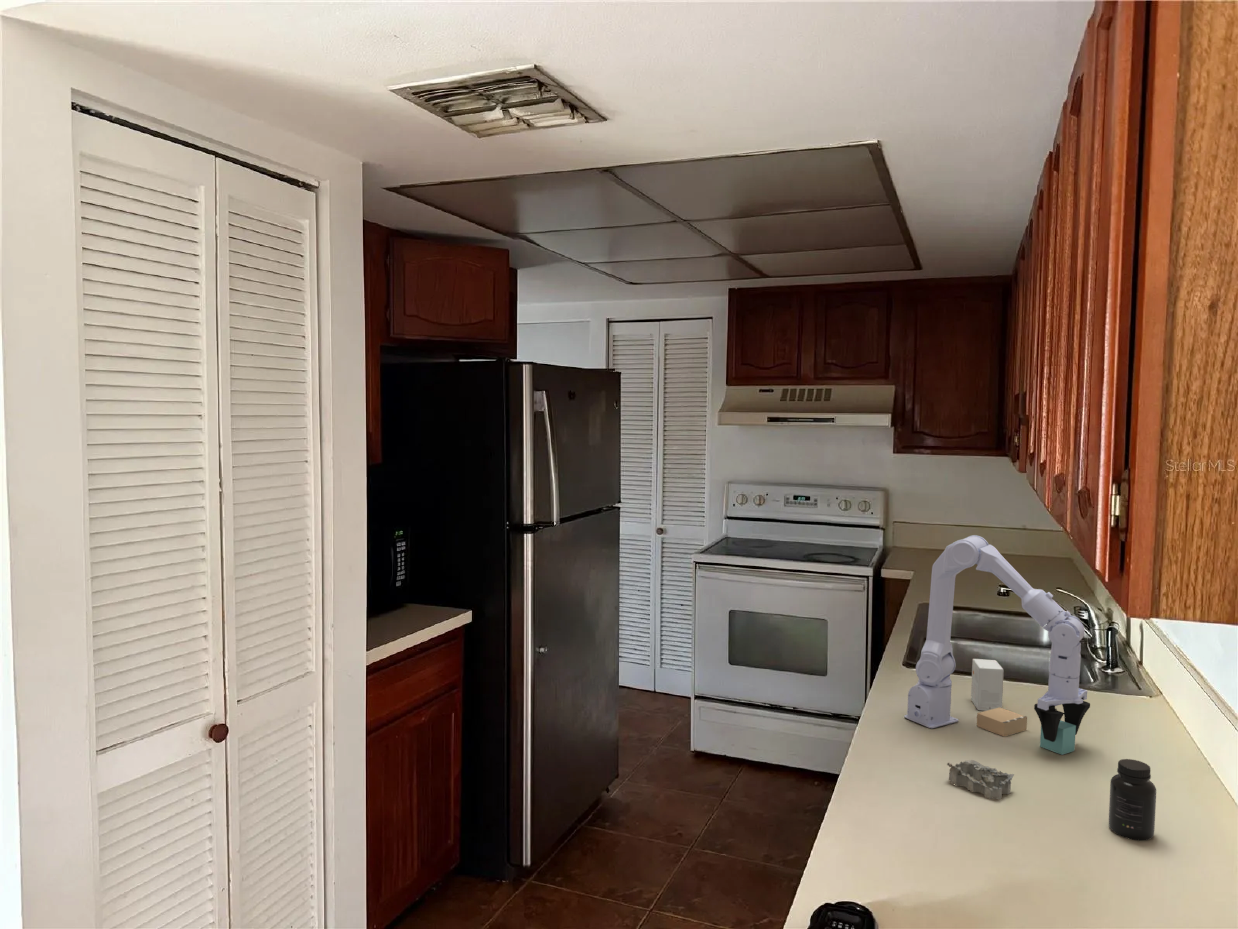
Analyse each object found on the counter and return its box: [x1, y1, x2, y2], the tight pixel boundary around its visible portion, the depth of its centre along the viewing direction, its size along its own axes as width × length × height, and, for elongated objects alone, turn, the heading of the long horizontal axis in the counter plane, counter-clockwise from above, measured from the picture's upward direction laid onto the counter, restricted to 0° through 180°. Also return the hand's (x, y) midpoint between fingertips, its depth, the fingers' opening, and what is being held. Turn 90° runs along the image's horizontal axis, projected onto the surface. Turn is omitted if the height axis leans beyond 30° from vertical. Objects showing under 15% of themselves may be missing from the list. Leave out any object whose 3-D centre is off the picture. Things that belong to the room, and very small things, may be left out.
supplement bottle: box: [1108, 758, 1157, 841], centre depth 147 cm, size 7×7×12 cm
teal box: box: [1039, 719, 1076, 755], centre depth 182 cm, size 4×5×6 cm
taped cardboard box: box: [976, 707, 1028, 737], centre depth 194 cm, size 8×7×3 cm
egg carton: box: [946, 759, 1015, 800], centre depth 164 cm, size 11×8×4 cm
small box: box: [970, 658, 1005, 712], centre depth 208 cm, size 8×6×10 cm
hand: (1060, 736), depth 182 cm, fingers open, 7 cm apart
